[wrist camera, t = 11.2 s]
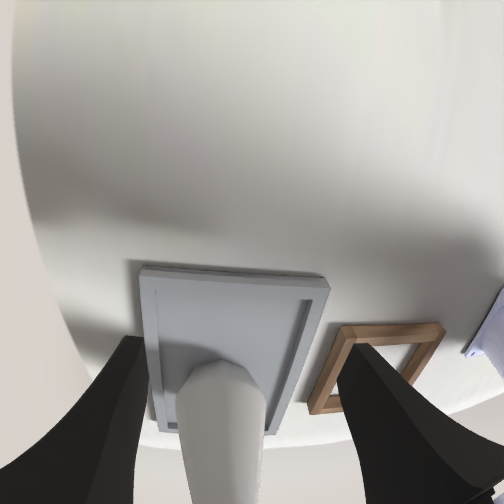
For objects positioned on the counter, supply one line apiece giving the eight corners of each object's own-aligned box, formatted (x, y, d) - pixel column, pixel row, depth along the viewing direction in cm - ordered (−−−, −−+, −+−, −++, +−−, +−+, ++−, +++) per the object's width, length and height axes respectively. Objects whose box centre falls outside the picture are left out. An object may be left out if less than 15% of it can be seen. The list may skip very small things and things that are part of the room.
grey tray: (325, 278, 17) (330, 288, 17) (273, 425, 25) (275, 434, 24) (142, 265, 16) (138, 276, 15) (160, 422, 24) (159, 431, 23)
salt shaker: (209, 409, 22) (215, 567, 11) (159, 370, 20) (144, 559, 8) (276, 383, 21) (309, 557, 10) (233, 338, 18) (254, 560, 7)
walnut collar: (438, 322, 21) (446, 332, 20) (394, 393, 25) (399, 403, 24) (340, 325, 19) (346, 338, 18) (306, 403, 24) (309, 415, 23)
